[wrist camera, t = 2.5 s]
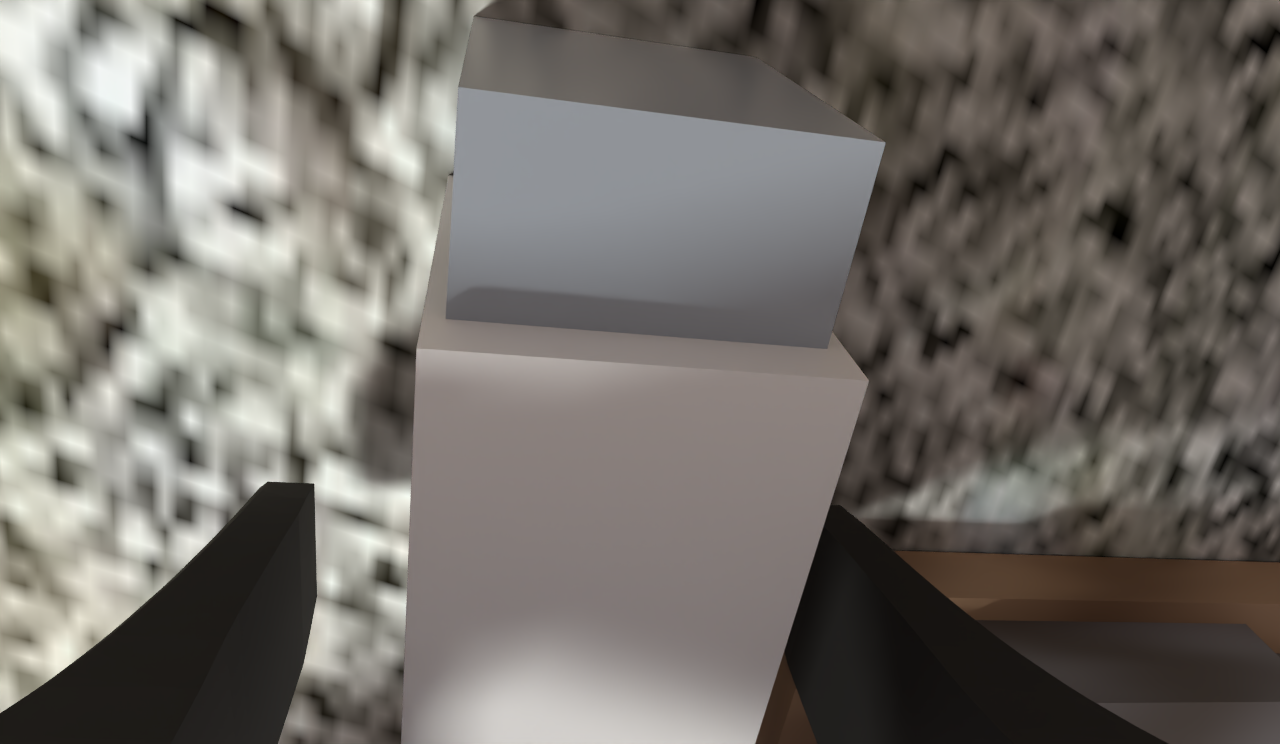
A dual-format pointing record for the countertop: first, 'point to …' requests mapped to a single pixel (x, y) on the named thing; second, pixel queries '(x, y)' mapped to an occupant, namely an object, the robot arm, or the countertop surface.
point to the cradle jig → (1117, 638)
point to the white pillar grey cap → (625, 390)
